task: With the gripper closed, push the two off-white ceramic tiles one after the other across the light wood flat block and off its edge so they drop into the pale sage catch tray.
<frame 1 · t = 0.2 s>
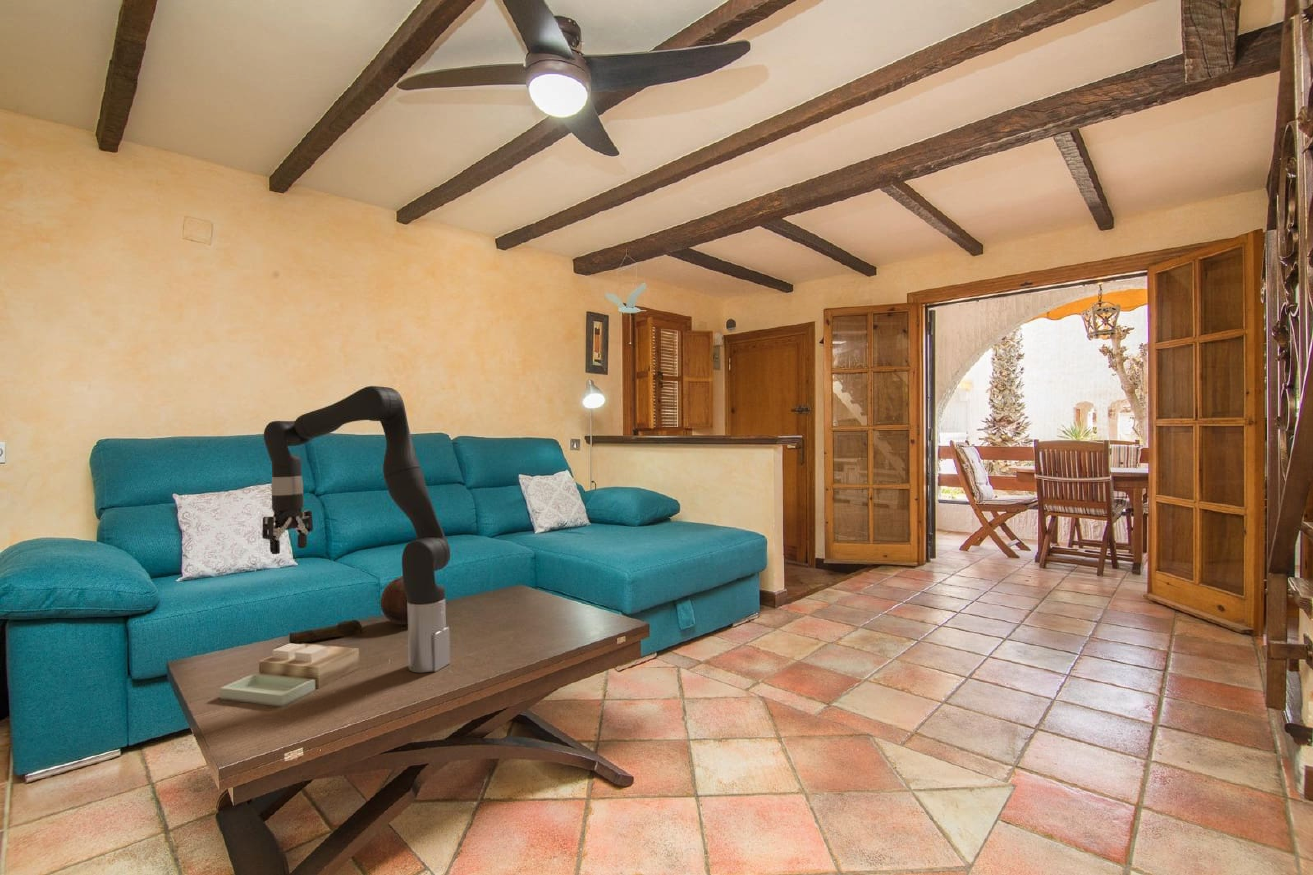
hand: (289, 550, 168), 29 cm above the table, fingers open, 8 cm apart
tile far: (289, 655, 153), point 5 cm above the table, touching light wood flat block
catch tray: (268, 694, 141), on the table
tile near: (311, 657, 151), point 5 cm above the table, touching light wood flat block
hand tool: (326, 640, 180), on the table
wooden sphere: (406, 623, 194), on the table
light wood flat block: (310, 674, 153), on the table
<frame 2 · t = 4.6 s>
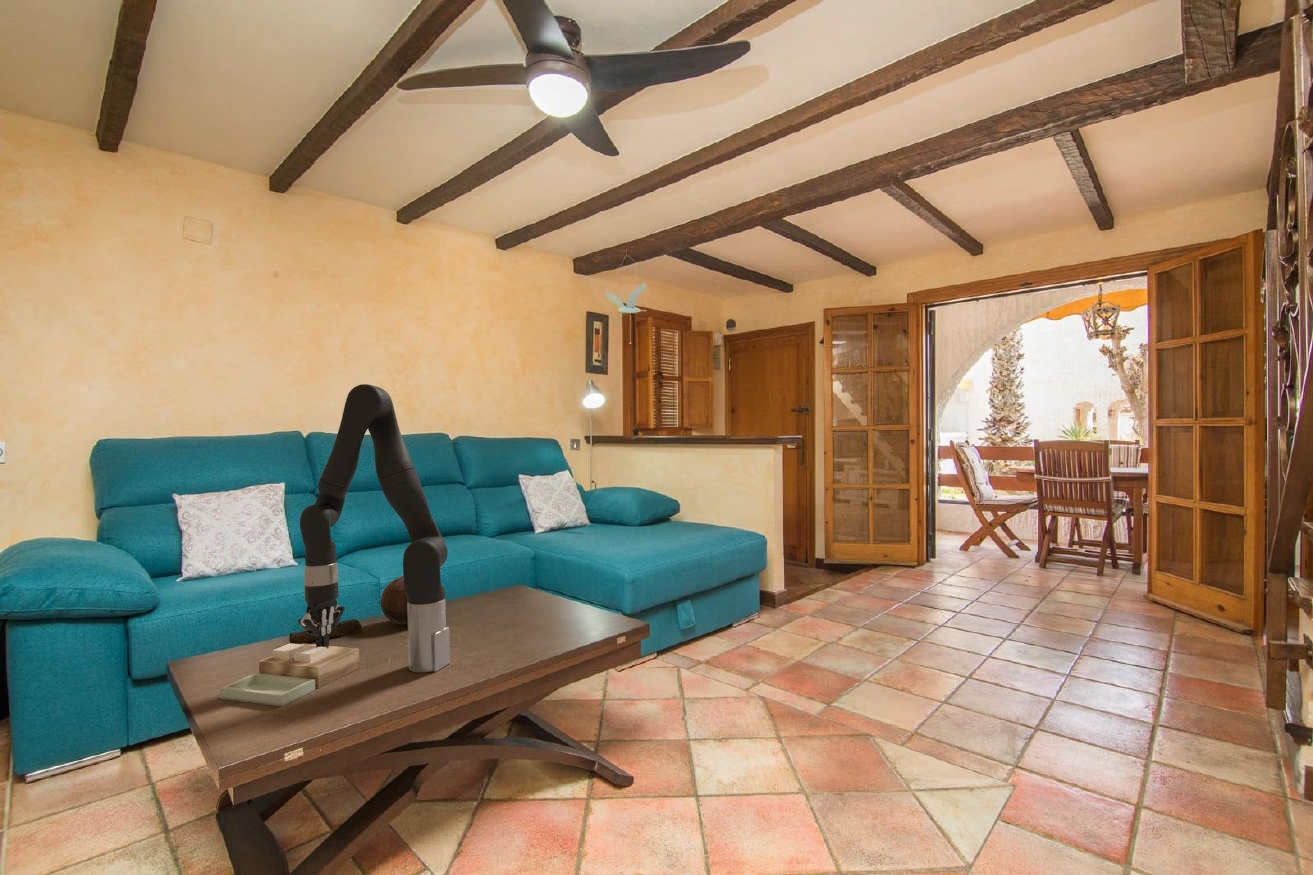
hand: (322, 649, 154), 6 cm above the table, fingers closed
tile near: (310, 658, 151), point 5 cm above the table, touching light wood flat block, gripper
everything else where it was.
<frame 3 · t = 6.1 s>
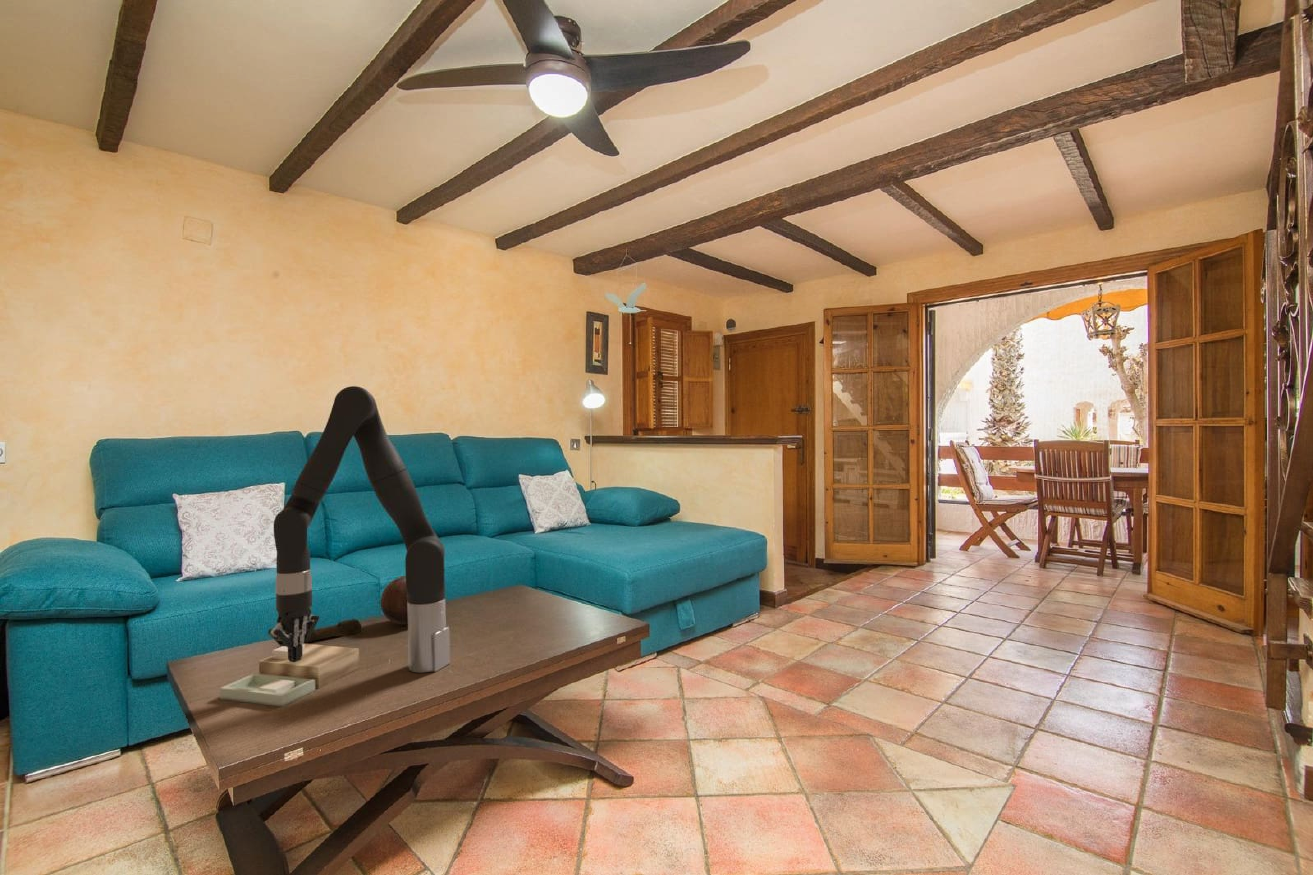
hand: (295, 660, 146), 6 cm above the table, fingers closed
tile near: (276, 684, 141), point 2 cm above the table, tilted 180°, touching catch tray
everything else where it was.
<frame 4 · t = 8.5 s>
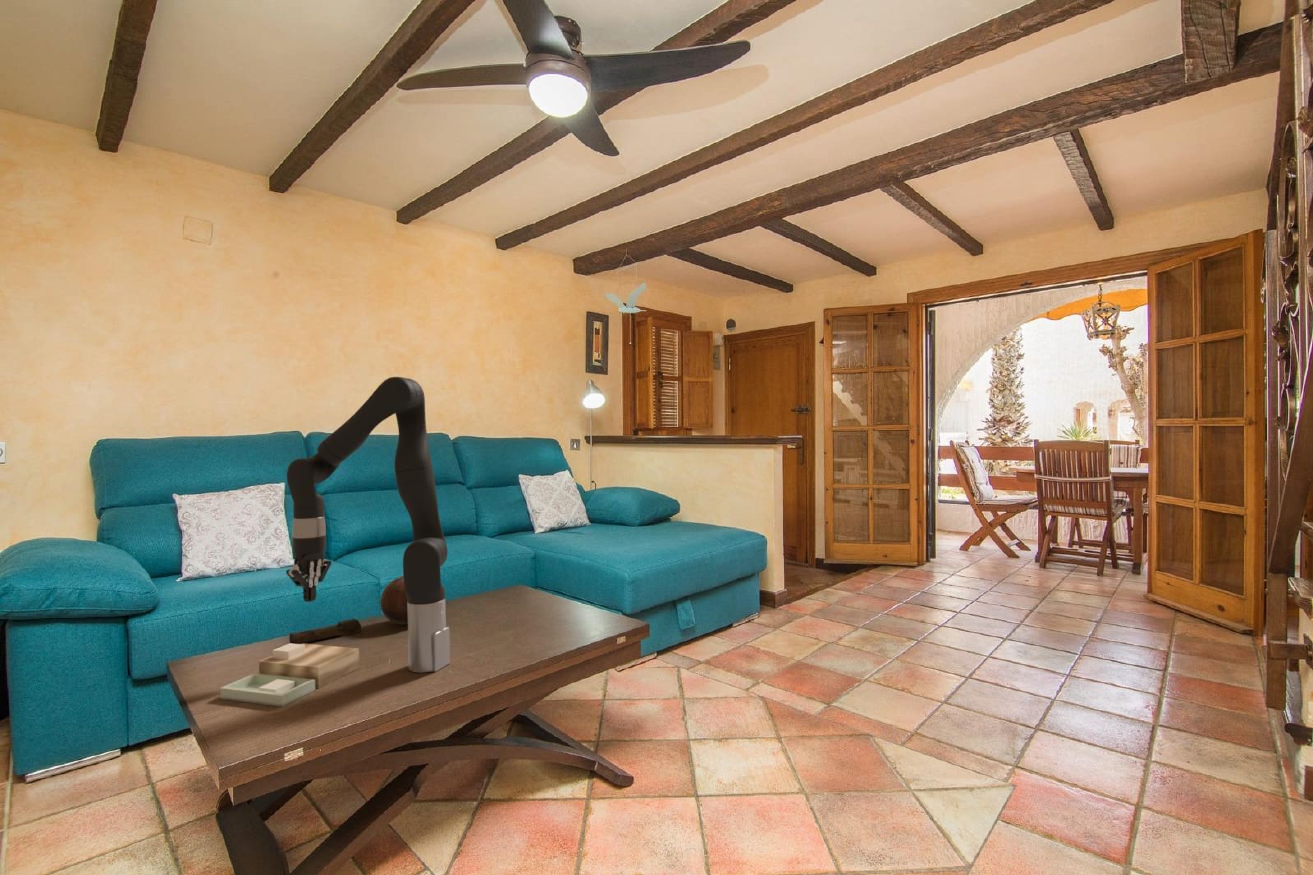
hand: (310, 600, 158), 17 cm above the table, fingers closed
nothing on the table moved.
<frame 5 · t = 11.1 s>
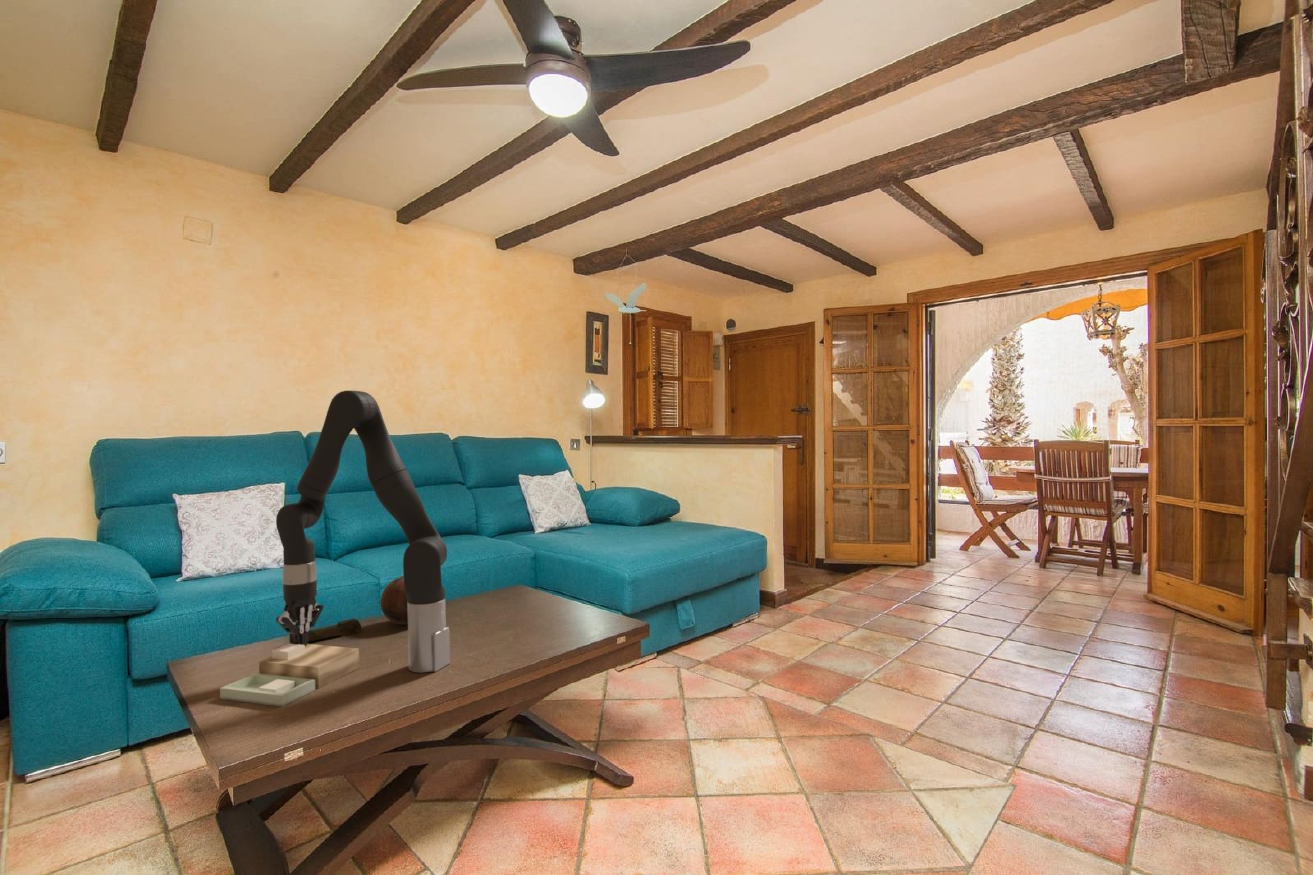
hand: (301, 646, 156), 6 cm above the table, fingers closed
tile far: (288, 655, 153), point 5 cm above the table, touching light wood flat block, gripper
everything else where it was.
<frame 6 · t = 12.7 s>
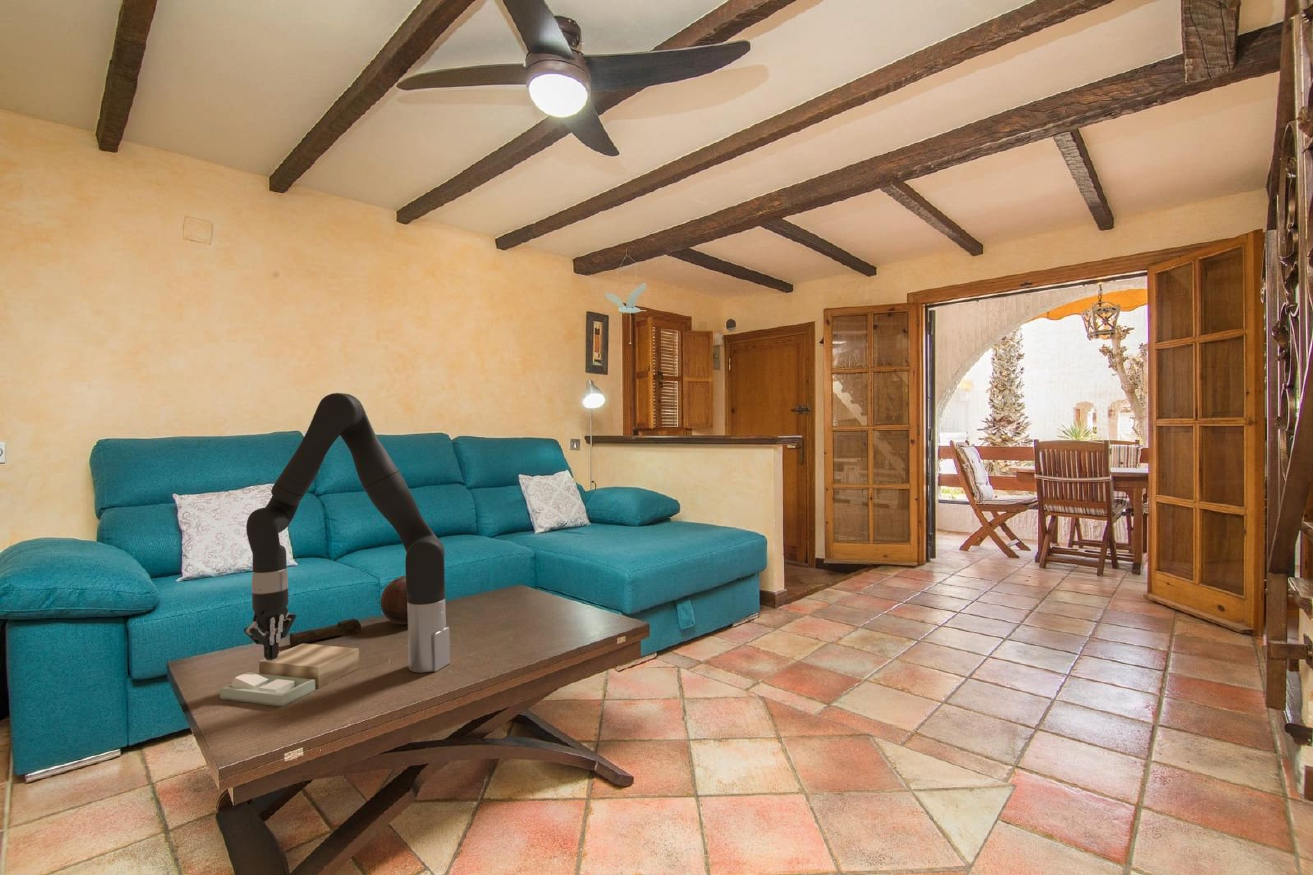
hand: (271, 658, 148), 6 cm above the table, fingers closed
tile far: (251, 678, 142), point 4 cm above the table, tilted 157°, touching catch tray
everything else where it was.
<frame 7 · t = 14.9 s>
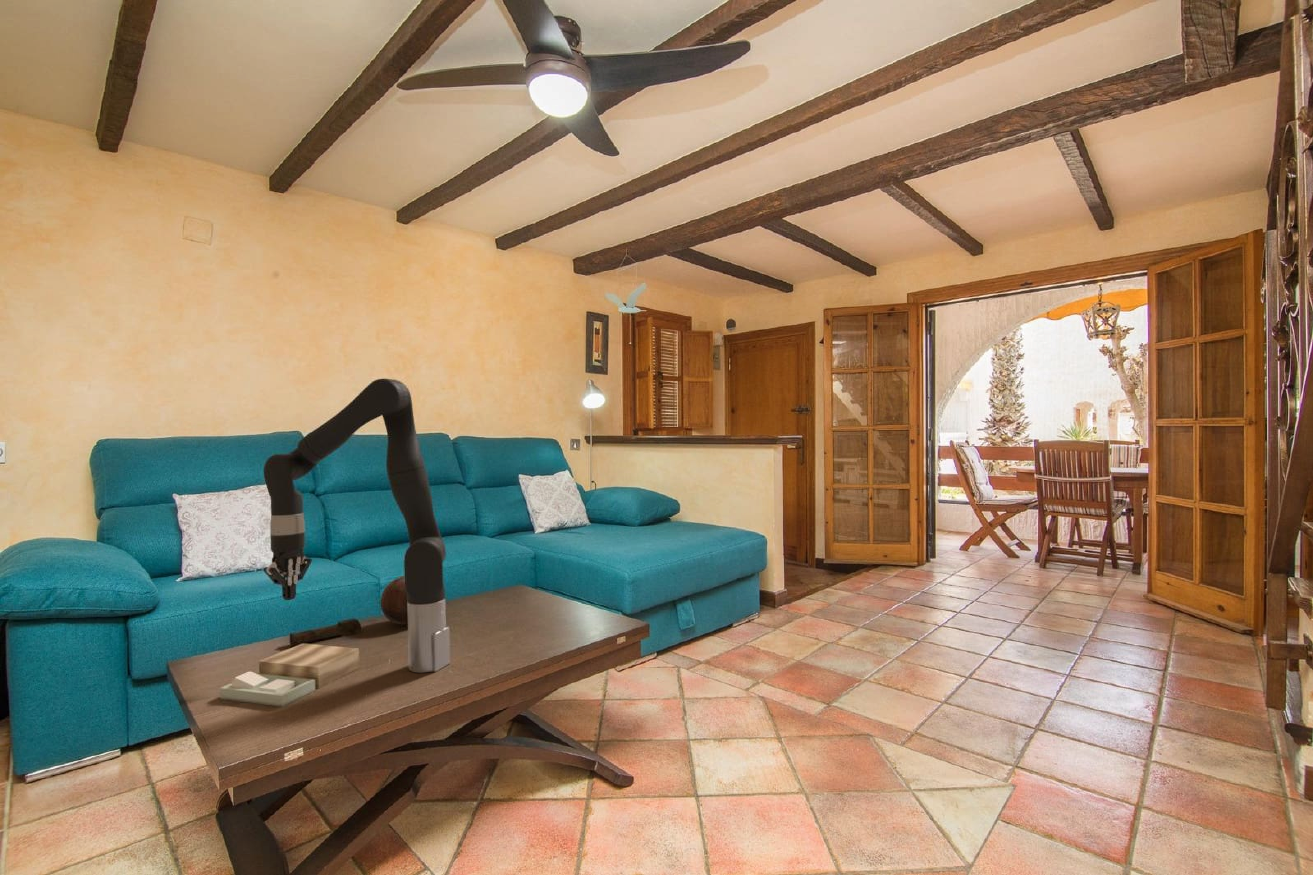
hand: (289, 599, 155), 19 cm above the table, fingers closed
nothing on the table moved.
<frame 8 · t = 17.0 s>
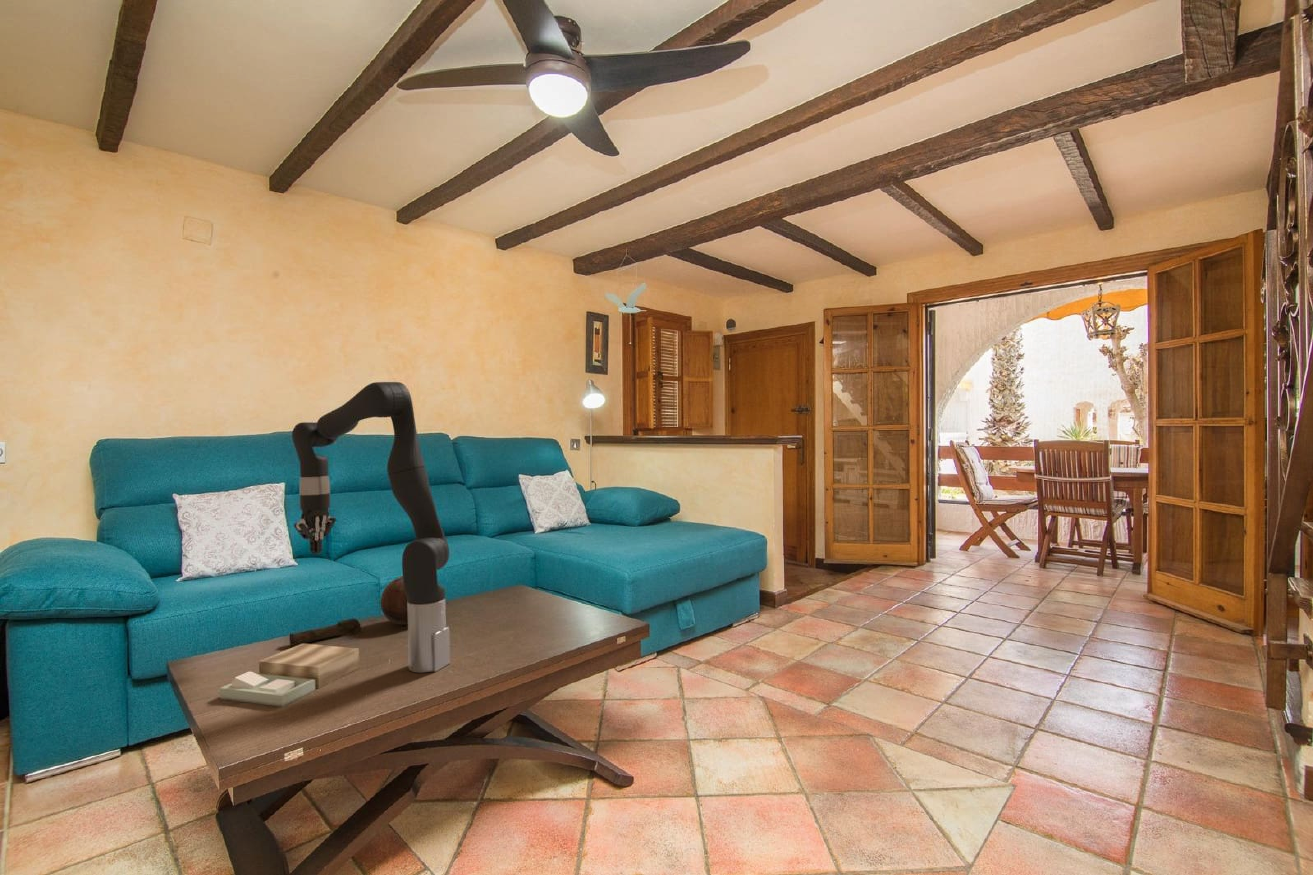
hand: (316, 553, 172), 27 cm above the table, fingers closed
at the end: tile near inside the target area on the catch tray (2.3 cm from its centre), point 2.5 cm above the catch tray's base; tile far inside the target area on the catch tray (4.3 cm from its centre), point 3.5 cm above the catch tray's base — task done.
